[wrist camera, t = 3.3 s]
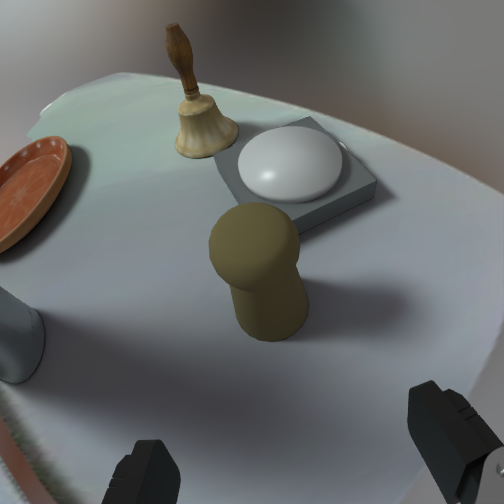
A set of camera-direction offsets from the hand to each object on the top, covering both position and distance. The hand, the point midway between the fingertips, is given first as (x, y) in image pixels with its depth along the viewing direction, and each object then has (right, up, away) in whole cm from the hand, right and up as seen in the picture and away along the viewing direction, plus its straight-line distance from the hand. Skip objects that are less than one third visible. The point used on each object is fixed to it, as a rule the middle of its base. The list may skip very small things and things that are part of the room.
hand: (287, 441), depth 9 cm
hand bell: (-7, +20, +31) cm, 38 cm away
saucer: (-37, +14, +33) cm, 52 cm away
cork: (+1, +1, +18) cm, 18 cm away
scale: (+3, +13, +24) cm, 28 cm away
